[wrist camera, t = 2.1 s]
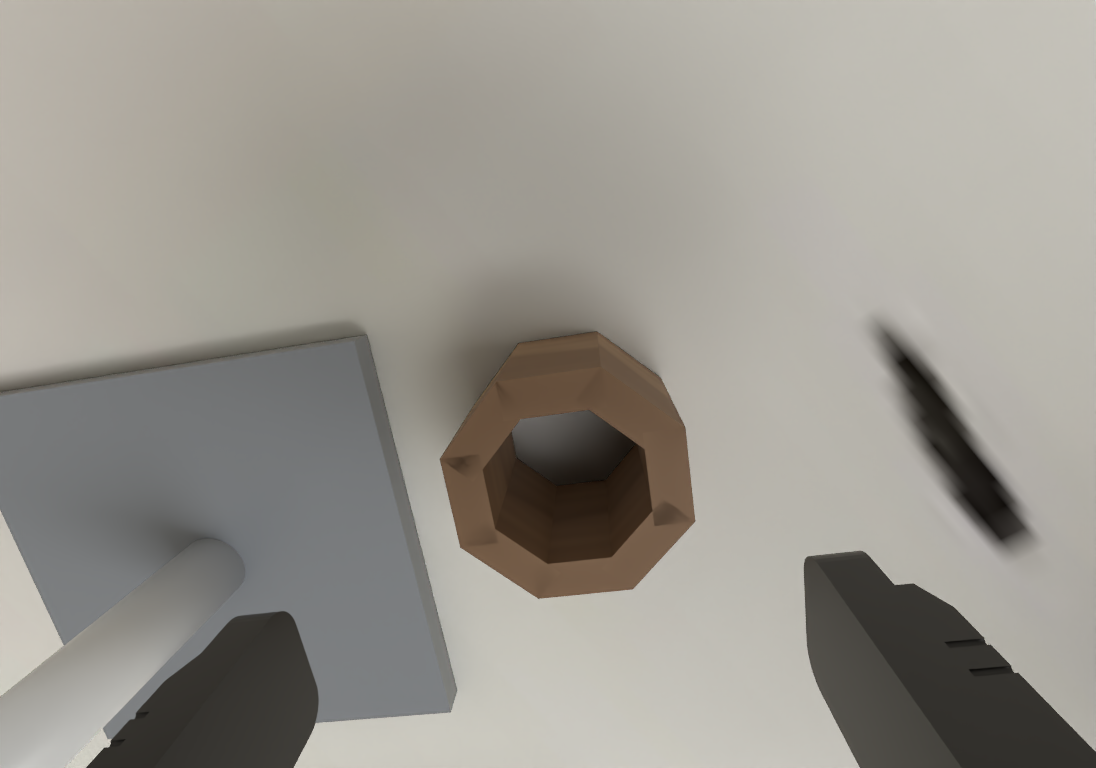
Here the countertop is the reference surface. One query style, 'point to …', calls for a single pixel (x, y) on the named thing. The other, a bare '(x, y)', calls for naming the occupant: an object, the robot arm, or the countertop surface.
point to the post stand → (214, 537)
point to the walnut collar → (575, 509)
